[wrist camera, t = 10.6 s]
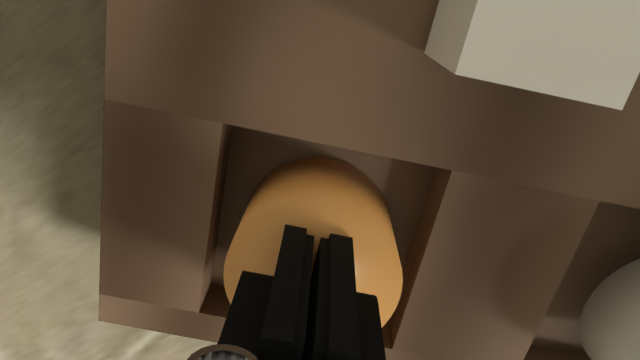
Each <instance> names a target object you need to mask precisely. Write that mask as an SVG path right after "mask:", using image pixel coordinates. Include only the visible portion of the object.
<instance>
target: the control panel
mask: <svg viewBox="0 0 640 360" xmlns="http://www.w3.org/2000/svg"><path fill="white" fill-rule="evenodd" d="M438 3H439V0H107V2H106V42H105V82H104V122H103V163H102V203H101V243H100V283H99V321H104V322H109V323H114V324H120V325H125V326H131V327H136V328H141V329H147V330H152V331H157V332H163V333H168V334H174V335H179V336H184V337H190V338H195V339H201V340H206V341H211V342H217V343H218V341H219V338H220V335H221V332H222V329H223V326H224V323H225V320H226V317H227V314H228V311H229V308H230V306H231V305H230V302H229V300H228V297H227V295H226V291H225V287H224V277H223V273H224V263H225V259H226V255H227V253H228V250H229V248H230V245H231V243H232V240H233V238H234V236H235V233H236V231H237V229H238V226H239V224H240V222H241V219H242V217H243V215H244V212H245V210H246V208H247V205H248V203H249V201H250V198H251V196H252V194H253V192H254V191H255V189H256V187H257V186H258V185H259V184H260V182H261V181H262V180H263V179H264V178H265V177H266V176H267V175H268V174H270V173H271V172H272V171H274V170H275V169H277V168H279V167H281V166H282V165H284V164H287V163H290V162H292V161H296V160H300V159H306V158H327V159H333V160H337V161H341V162H344V163H346V164H349V165H351V166H353V167H355V168H356V169H358V170H360V171H361V172H363V173H364V174H365V175H367V176H368V177H369V178H370V179H371V180H372V181H373V182H374V183H375V185H376V186H377V187H378V189H379V190H380V191H381V193H382V195H383V197H384V199H385V201H386V204H387V207H388V211H389V215H390V220H391V224H392V228H393V233H394V237H395V241H396V245H397V250H398V254H399V258H400V263H401V267H402V275H403V284H402V292H401V296H400V300H399V302H398V305H397V307H396V309H395V311H394V313H393V314H392V316H391V318H390V319H389V320H388V321H387V323H386V324H385V325H384V326H383V327H382V334H383V341H384V348H385V356H386V360H591V359H590V357H589V356H588V355H587V353H586V352H585V350H584V348H583V346H582V344H581V340H580V336H579V321H580V317H581V313H582V310H583V308H584V306H585V303H586V302H587V300H588V298H589V297H590V295H591V294H592V293H593V291H594V290H595V289H596V288H597V287H598V285H599V284H600V283H601V282H602V281H603V280H605V279H606V278H607V277H608V276H610V275H611V274H612V273H613V272H615V271H617V270H618V269H620V268H621V267H623V266H625V265H627V264H629V263H631V262H633V261H635V260H638V259H640V73H639V75H638V77H637V79H636V81H635V84H634V86H633V88H632V90H631V92H630V94H629V97H628V99H627V101H626V103H625V105H624V107H623V110H618V109H614V108H609V107H604V106H600V105H595V104H590V103H586V102H581V101H576V100H572V99H567V98H562V97H558V96H553V95H548V94H544V93H539V92H535V91H530V90H525V89H521V88H516V87H511V86H507V85H502V84H497V83H493V82H488V81H483V80H479V79H474V78H469V77H465V76H460V75H455V74H454V73H452V72H451V71H449V70H448V69H446V68H445V67H443V66H442V65H441V64H439V63H438V62H436V61H435V60H433V59H432V58H430V57H429V56H427V55H426V54H425V53H424V52H425V49H426V45H427V42H428V38H429V35H430V31H431V28H432V24H433V20H434V17H435V13H436V10H437V6H438Z"/></svg>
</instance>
